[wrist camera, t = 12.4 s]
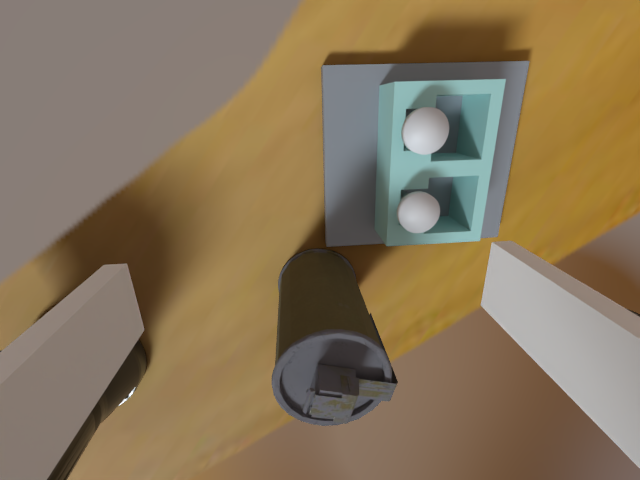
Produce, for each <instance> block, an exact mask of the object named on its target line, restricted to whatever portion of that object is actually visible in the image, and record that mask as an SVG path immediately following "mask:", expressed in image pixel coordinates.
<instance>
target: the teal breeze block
mask: <svg viewBox="0 0 640 480" xmlns="http://www.w3.org/2000/svg"><path fill="white" fill-rule="evenodd" d="M505 82H506V79H485V80H445V81H404V82H392V83H388V84H384V85H380V86H379V113H378V142H377V170H376V199H375V228H374V229H375V231H376V232H377V233H378V235H379V236H380V238H381V239H382V241H383V242H384V243H385V245H386V246H401V245H418V244H435V243H452V242H469V241H480V237H481V231H482V225H483V218H484V212H485V206H486V200H487V194H488V187H489V181H490V175H491V169H492V162H493V156H494V150H495V144H496V138H497V131H498V125H499V119H500V113H501V107H502V100H503V94H504V88H505ZM437 96H463V98H462V107H461V115H460V123H459V132H458V140H457V148H456V153H434V154H427V155H422V154H418V153H415V152H412V151H410V150H409V149H408V148H407V147H406V146H405V145H404V143H403V140H402V136H401V131H402V125H403V123H404V121H405V118H406V109H418V108H422V107H433V108H436V98H437ZM435 177H453V182H452V190H451V198H450V207H449V215H448V216H439V219H438V221H437V222H436V224H435V225H434V226H433V227H432V228H431V229H429V230H428V231H426V232H423V233H412V232H409V231H407V230H406V229H405V228H404V227H403V226H402V225H401V224H400V223H399V221H398V219H397V207H398V205H399V203H400V197H401V190H409V189H428V184H429V178H435Z"/></svg>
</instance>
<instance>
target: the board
mask: <svg viewBox="0 0 640 480" xmlns="http://www.w3.org/2000/svg"><path fill="white" fill-rule="evenodd" d="M528 66H529V61H503V62H455V63H408V64H360V65H323V66H322V67H321V72H322V115H323V159H324V202H325V243H326V246H327V247H333V246H350V245H368V244H385V243H384V242H383V241H382V239H381V238H380V236H379V235H378V233H377V232H376V231H375V229H374V228H375V199H376V170H377V142H378V113H379V86H380V85H384V84H388V83H392V82H404V81H445V80H485V79H506V82H505V88H504V94H503V100H502V107H501V113H500V119H499V125H498V131H497V138H496V144H495V150H494V156H493V162H492V169H491V175H490V181H489V187H488V194H487V200H486V206H485V212H484V218H483V225H482V231H481V237H480V238H488V237H498V232H499V226H500V221H501V215H502V210H503V204H504V199H505V193H506V188H507V182H508V177H509V171H510V165H511V160H512V154H513V149H514V143H515V138H516V132H517V127H518V121H519V116H520V110H521V105H522V99H523V94H524V88H525V83H526V77H527V72H528ZM462 98H463V96H437V98H436V108H433V107H422V108H418V109H406V118H405V121H404V123H403V125H402V131H401V136H402V140H403V143H404V145H405V146H406V147H407V148H408V149H409V150H410V151H412V152H415V153H418V154H422V155H427V154H434V153H456V148H457V140H458V132H459V123H460V115H461V107H462ZM452 182H453V177H435V178H429V184H428V189H409V190H401V197H400V203H399V205H398V207H397V219H398V221H399V223H400V224H401V225H402V226H403V227H404V228H405V229H406V230H407V231H409V232H412V233H423V232H426V231H428V230H429V229H431V228H432V227H433V226H434V225H435V224H436V222H437V221H438V219H439V216H448V215H449V207H450V198H451V190H452Z"/></svg>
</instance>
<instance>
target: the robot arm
mask: <svg viewBox="0 0 640 480" xmlns="http://www.w3.org/2000/svg"><path fill="white" fill-rule="evenodd" d="M481 306H482V307H483V308H484V309H485V310H486V311H487V312H488V313H489V314H490V315H491V316H492V317H493V318H494V319H495V321H497V322H498V324H499V325H500V326H501V327H502V328H503V329H504V330H505V331H506V332H507V333H508V334H509V335H510V336H511V337H512V338H513V339H514V340H515V341H516V342H517V343H518V344H519V345H520V346H521V347H522V348H523V349H524V350H525V351H526V352H527V353H528V354H529V355H530V356H531V357H532V358H533V359H534V361H535V362H536V363H538V365H539V366H540V367H541V368H542V369H543V370H544V371H545V372H546V373H547V374H548V375H549V376H550V377H551V378H552V379H553V380H554V381H555V382H556V383H557V384H558V385H559V386H560V387H561V388H562V389H563V390H564V391H565V392H566V393H567V394H568V395H569V396H570V397H571V398H572V399H573V400H574V401H575V403H576V404H578V406H579V407H580V408H581V409H582V410H583V411H584V412H585V413H587V415H588V416H589V417H590V418H591V419H592V420H593V421H594V422H595V423H596V424H597V425H598V426H599V427H600V428H601V429H602V430H603V431H604V432H605V433H606V434H607V435H608V436H609V437H610V438H611V439H612V440H613V442H615V444H616V445H617V446H618V447H619V448H620V449H621V450H622V451H623V452H624V453H625V454H626V455H627V456H628V457H629V458H630V459H631V460H632V461H633V462H634V463H635V464H636V465H637V466H638V467H639V468H640V314H638V313H636V312H633V311H631V310H628V309H626V308H623V307H622V306H620V305H619V304H617V303H615V302H613V301H612V300H610V299H609V298H607V297H605V296H603V295H602V294H600V293H598V292H597V291H595V290H593V289H592V288H590V287H588V286H587V285H585V284H583V283H582V282H580V281H578V280H576V279H575V278H573V277H571V276H570V275H568V274H566V273H565V272H563V271H561V270H560V269H558V268H556V267H555V266H553V265H551V264H550V263H548V262H546V261H545V260H543V259H541V258H540V257H538V256H536V255H534V254H533V253H531V252H529V251H528V250H526V249H524V248H523V247H521V246H519V245H518V244H516V243H514V242H513V241H502V242H492V245H491V251H490V256H489V262H488V268H487V273H486V279H485V284H484V290H483V296H482V301H481ZM143 331H144V326H143V322H142V318H141V314H140V311H139V307H138V303H137V299H136V295H135V292H134V288H133V284H132V280H131V277H130V273H129V269H128V265H127V263H126V264H109V265H103V266H102V267H101V268H100V269H98V270H97V271H96V272H95V273H94V274H92V275H91V276H90V277H89V278H88V279H87V280H85V281H84V282H83V283H82V284H81V285H79V286H78V287H77V288H76V289H75V290H73V291H72V292H71V293H70V294H69V295H68V296H66V297H65V298H64V299H63V300H62V301H60V302H59V303H58V304H57V305H56V306H55V307H53V308H52V309H51V310H50V311H49V312H47V313H46V314H45V315H44V316H43V317H42V318H40V319H39V320H38V321H37V322H36V323H34V324H33V325H32V326H31V327H30V328H28V329H27V330H26V331H25V332H24V333H23V334H21V335H20V336H19V337H18V338H17V339H15V340H14V341H13V342H12V343H11V344H10V345H8V346H7V347H6V348H5V349H4V350H2V351H0V480H67V478H68V477H69V475H70V473H71V472H72V470H73V468H74V467H75V465H76V463H77V462H78V460H79V458H80V457H81V455H82V453H83V452H84V450H85V448H86V447H87V445H88V443H89V441H90V440H91V438H92V436H93V435H94V433H95V431H96V430H97V428H98V426H99V425H100V423H101V422H103V421H104V420H105V419H106V418H107V417H108V416H109V415H110V414H111V413H112V412H113V411H114V410H115V408H116V407H117V406H119V405H121V404H122V403H124V402H125V401H126V400H127V399H128V398H129V397H130V396H131V395H132V394H133V393H134V392H135V390H136V389H137V387H138V385H139V383H140V382H141V380H142V378H143V376H144V374H145V370H146V364H147V362H146V354H145V351H144V348H143V346H142V344H141V343H140V341H139V340H138V339H139V338H140V336H141V335H142V333H143Z"/></svg>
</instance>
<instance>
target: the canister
mask: <svg viewBox="0 0 640 480" xmlns="http://www.w3.org/2000/svg"><path fill="white" fill-rule="evenodd" d="M278 288H279V308H278V326H277V343H276V360H275V368H274V370H273V374H272V388H273V393H274V396H275V398H276V400H277V402H278V403H279V405H280V406H281V408H282V409H284V410H285V411H286V412H287V413H288V414H289V415H291V416H293V417H295V418H297V419H298V420H300V421H303V422H306V423H310V424H314V425H322V426H325V425H326V426H327V425H339V424H343V423H345V424H346V423H348V422H350V421H353V420H357V419H359V418H361V417H362V416H364V415H365V414H367V413H368V412H370V411H372V410H373V409H374V408H375V407H376V406H377V405H378V404H379V403H380V402H381V401H390V399H391V397H392V395H393V392H394V390H395V387H396V385H397V383H398V381H397V379H396V376H395V374H394V371H393V369H392V367H391V363H390V361H389V358H388V356H387V354H386V351H385V348H384V346H383V343H382V341H381V338H380V336H379V333H378V331H377V328H376V326H375V323H374V320H373V318H372V315H371V313H370V315H369V313H368V310H367V308H366V305H365V302H364V300H363V297H362V295H361V292H360V289H359V287H358V284H357V281H356V275H355V272H354V269H353V267H352V266H351V264H350V263H349V261H348V260H347V259H346V258H344V257H343V256H341V255H340V254H338V253H336V252H334V251H331V250H325V249H310V250H306V251H304V252H301V253H299V254H297V255H295V256H294V257H293V258H291V259H290V260H289V261H288V262H287V263H286V265H285V266H284V267H283V269H282V271H281V273H280V277H279V281H278Z"/></svg>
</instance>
